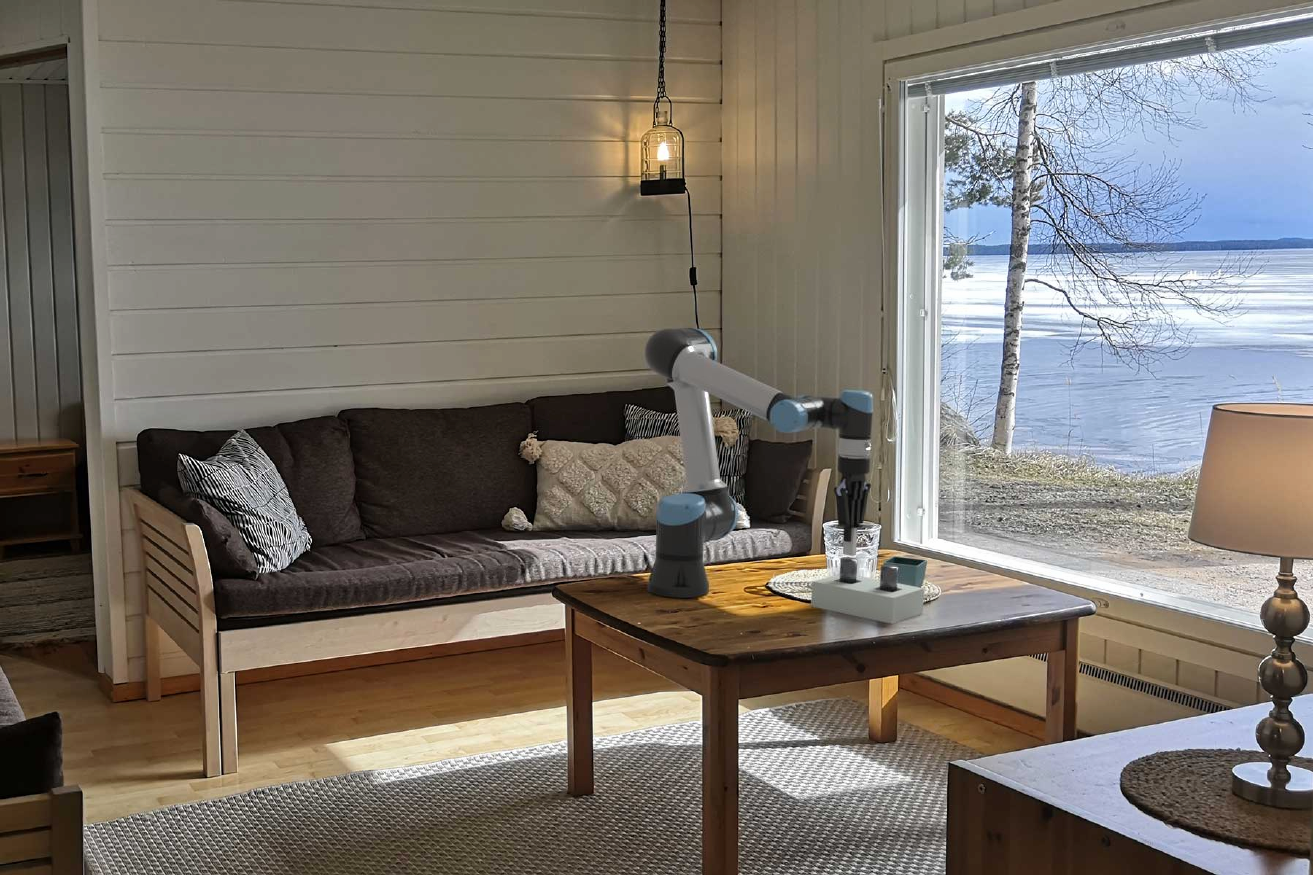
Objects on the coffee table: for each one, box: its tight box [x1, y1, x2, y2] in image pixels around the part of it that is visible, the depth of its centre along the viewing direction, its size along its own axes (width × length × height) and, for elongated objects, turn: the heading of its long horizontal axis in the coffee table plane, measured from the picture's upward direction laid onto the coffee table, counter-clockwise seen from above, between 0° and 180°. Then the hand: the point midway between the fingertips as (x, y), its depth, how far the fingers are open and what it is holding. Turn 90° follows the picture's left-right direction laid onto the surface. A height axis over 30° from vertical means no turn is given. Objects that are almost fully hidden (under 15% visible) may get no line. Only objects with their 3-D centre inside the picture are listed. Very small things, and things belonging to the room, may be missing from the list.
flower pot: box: [882, 556, 928, 588], centre depth 322 cm, size 9×9×9 cm
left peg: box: [839, 556, 858, 584], centre depth 310 cm, size 4×4×6 cm
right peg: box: [879, 564, 898, 592], centre depth 303 cm, size 4×4×6 cm
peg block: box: [810, 573, 925, 625], centre depth 307 cm, size 22×14×6 cm, turn 50°
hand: (849, 554), depth 309 cm, fingers closed
